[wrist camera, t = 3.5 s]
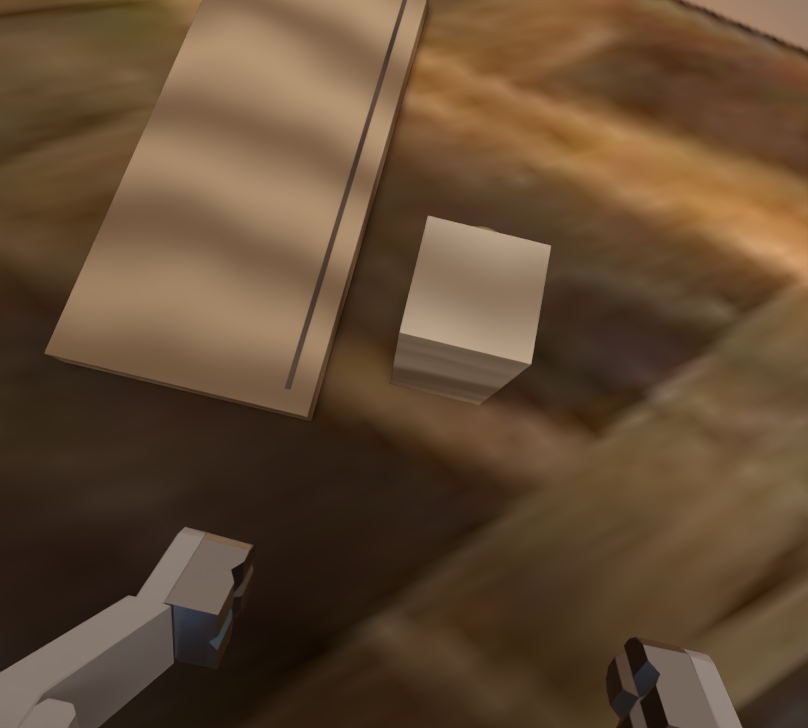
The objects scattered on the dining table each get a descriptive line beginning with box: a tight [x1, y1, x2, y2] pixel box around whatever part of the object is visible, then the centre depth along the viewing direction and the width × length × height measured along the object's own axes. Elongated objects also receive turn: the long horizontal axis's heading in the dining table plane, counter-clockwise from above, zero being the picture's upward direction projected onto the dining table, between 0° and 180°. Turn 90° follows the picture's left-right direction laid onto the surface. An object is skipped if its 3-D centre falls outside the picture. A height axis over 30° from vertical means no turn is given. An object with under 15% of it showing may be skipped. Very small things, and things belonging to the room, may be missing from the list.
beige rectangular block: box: [390, 216, 551, 405], centre depth 21 cm, size 5×4×8 cm
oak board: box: [44, 0, 429, 421], centre depth 26 cm, size 26×12×2 cm, turn 167°
